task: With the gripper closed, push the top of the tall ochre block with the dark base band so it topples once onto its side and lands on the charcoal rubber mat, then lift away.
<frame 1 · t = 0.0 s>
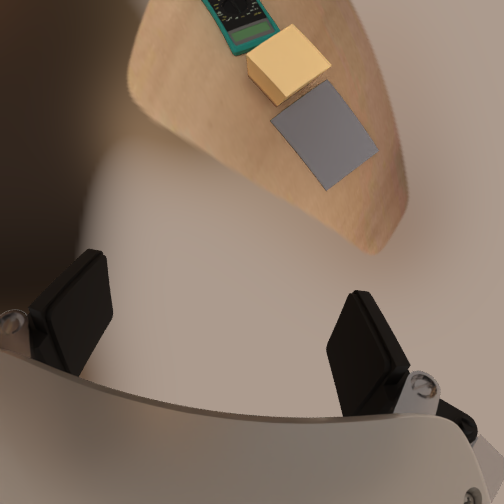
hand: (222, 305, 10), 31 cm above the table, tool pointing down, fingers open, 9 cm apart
ochre block: (279, 79, 32), on the table
digital multimeter: (237, 13, 28), on the table
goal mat: (327, 134, 36), on the table
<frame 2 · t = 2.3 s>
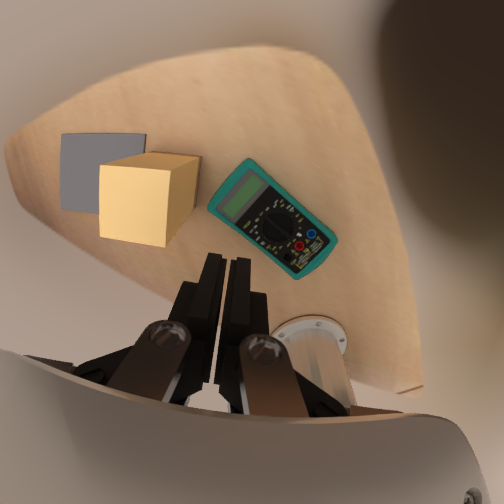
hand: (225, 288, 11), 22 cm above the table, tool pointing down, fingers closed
ochre block: (173, 178, 30), on the table
digital multimeter: (273, 217, 33), on the table
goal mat: (98, 173, 30), on the table
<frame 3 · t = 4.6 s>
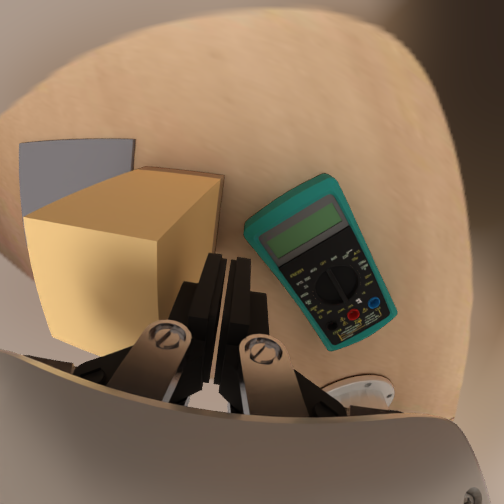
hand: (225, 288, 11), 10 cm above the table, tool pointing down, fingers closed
ochre block: (179, 210, 20), on the table
digital multimeter: (327, 265, 22), on the table
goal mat: (68, 200, 19), on the table
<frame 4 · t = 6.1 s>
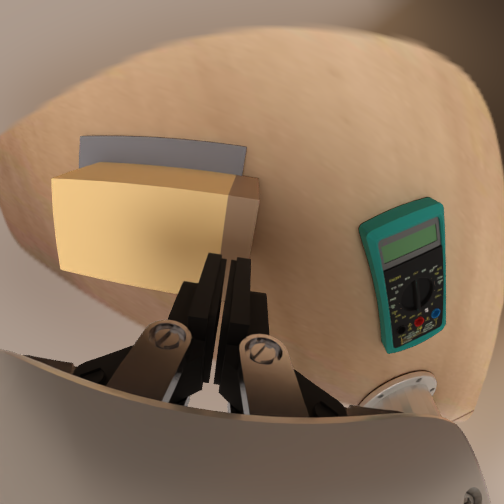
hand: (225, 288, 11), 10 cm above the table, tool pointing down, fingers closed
ochre block: (250, 235, 17), point 3 cm above the table, tilted 90°, touching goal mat
digital multimeter: (404, 275, 23), on the table
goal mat: (150, 206, 19), on the table
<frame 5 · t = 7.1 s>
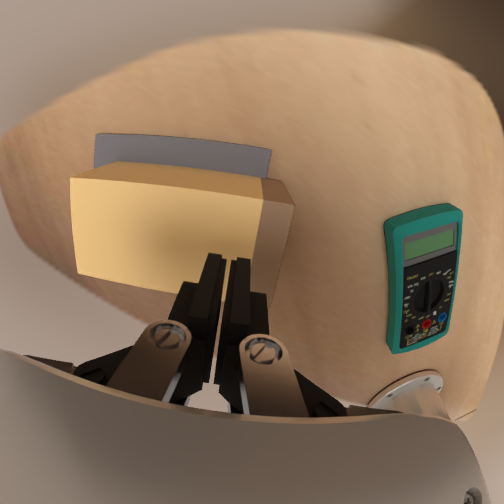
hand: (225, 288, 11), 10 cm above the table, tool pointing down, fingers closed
ochre block: (277, 238, 17), point 3 cm above the table, tilted 90°, touching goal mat
digital multimeter: (416, 277, 23), on the table
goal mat: (170, 208, 19), on the table
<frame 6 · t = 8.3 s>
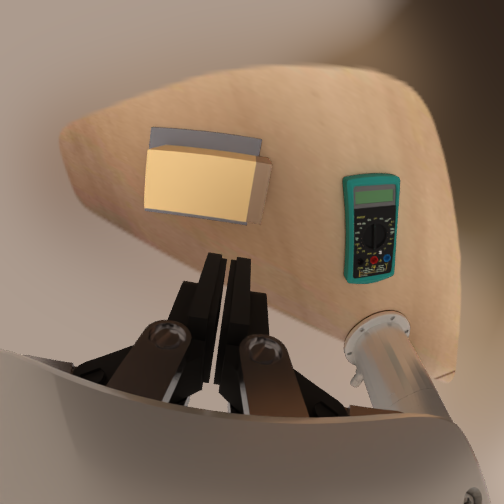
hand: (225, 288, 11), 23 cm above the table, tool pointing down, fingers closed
ochre block: (265, 188, 28), point 3 cm above the table, tilted 90°, touching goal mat
digital multimeter: (367, 225, 35), on the table
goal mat: (199, 174, 31), on the table
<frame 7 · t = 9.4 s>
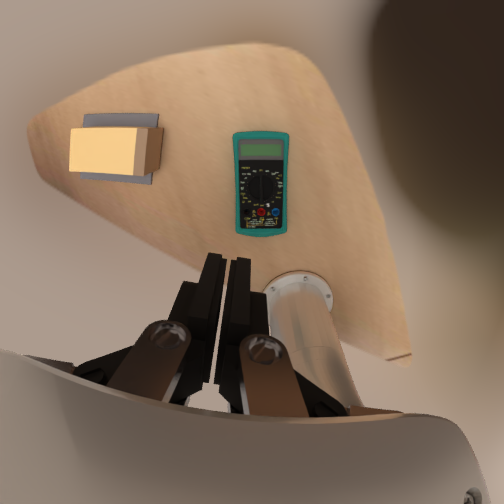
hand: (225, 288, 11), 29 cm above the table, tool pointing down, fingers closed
ochre block: (153, 150, 32), point 3 cm above the table, tilted 90°, touching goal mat
digital multimeter: (260, 181, 38), on the table
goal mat: (115, 147, 35), on the table
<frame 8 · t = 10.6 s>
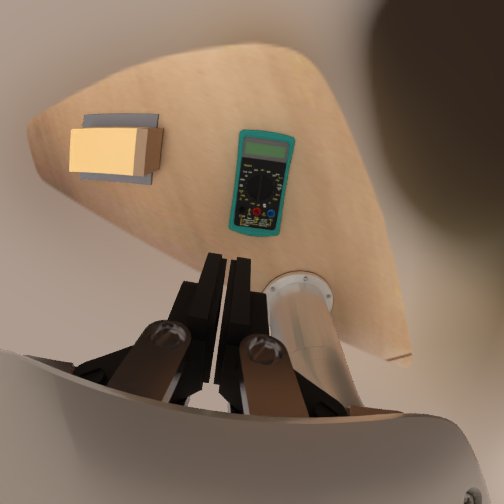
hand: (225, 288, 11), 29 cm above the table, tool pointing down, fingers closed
ochre block: (153, 150, 33), point 3 cm above the table, tilted 90°, touching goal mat
digital multimeter: (260, 181, 38), on the table
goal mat: (116, 147, 35), on the table
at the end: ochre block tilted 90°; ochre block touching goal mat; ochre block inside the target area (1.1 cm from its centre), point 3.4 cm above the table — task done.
